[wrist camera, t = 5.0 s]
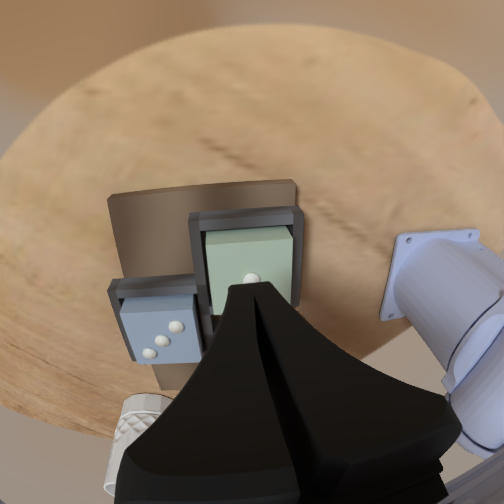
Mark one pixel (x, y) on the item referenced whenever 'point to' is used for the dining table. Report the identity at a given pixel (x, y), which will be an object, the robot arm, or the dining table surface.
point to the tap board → (191, 246)
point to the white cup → (132, 429)
